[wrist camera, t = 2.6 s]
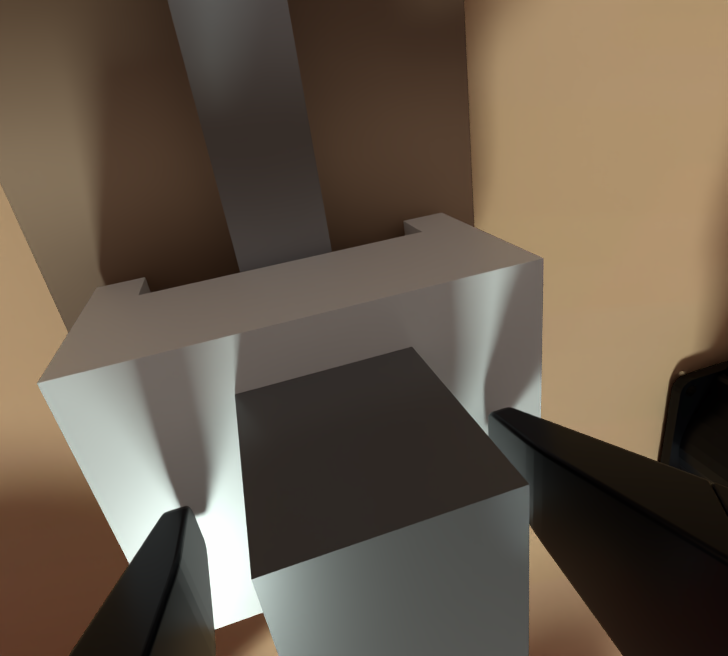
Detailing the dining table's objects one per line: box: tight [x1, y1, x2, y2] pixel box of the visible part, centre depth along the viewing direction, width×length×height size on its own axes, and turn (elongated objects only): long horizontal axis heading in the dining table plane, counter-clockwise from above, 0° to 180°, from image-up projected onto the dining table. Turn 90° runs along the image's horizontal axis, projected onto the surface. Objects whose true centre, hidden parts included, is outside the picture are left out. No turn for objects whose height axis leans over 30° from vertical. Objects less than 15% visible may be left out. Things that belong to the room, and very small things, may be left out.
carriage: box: [37, 213, 543, 656], centre depth 9 cm, size 6×8×8 cm
